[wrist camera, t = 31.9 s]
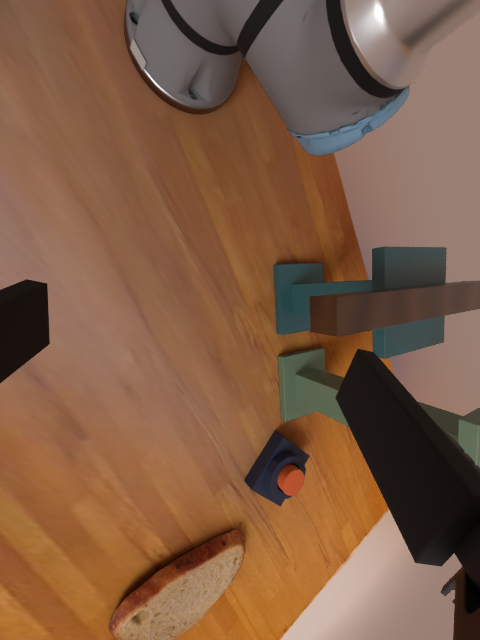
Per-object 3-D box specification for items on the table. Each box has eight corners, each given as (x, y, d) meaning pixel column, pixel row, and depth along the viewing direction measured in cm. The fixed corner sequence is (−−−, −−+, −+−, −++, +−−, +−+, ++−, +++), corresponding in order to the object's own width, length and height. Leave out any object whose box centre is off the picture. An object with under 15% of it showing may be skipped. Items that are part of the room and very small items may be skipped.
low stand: (272, 334, 50) (384, 358, 31) (268, 265, 48) (384, 246, 29) (322, 326, 55) (443, 342, 36) (320, 263, 54) (446, 247, 35)
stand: (276, 420, 52) (473, 551, 25) (273, 356, 50) (478, 425, 24) (324, 404, 57) (526, 497, 31) (323, 346, 56) (534, 392, 29)
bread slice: (249, 531, 51) (261, 547, 47) (199, 638, 47) (208, 663, 44) (164, 511, 43) (170, 529, 39) (96, 638, 39) (97, 669, 36)
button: (286, 459, 48) (293, 465, 47) (301, 469, 50) (308, 475, 48) (272, 483, 47) (279, 490, 45) (288, 493, 49) (295, 499, 47)
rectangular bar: (310, 332, 25) (338, 336, 23) (309, 296, 25) (337, 296, 22) (462, 305, 38) (492, 306, 35) (463, 281, 38) (494, 280, 35)
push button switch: (275, 430, 52) (290, 441, 48) (300, 449, 55) (316, 461, 51) (243, 480, 49) (257, 496, 45) (272, 496, 53) (287, 513, 49)
